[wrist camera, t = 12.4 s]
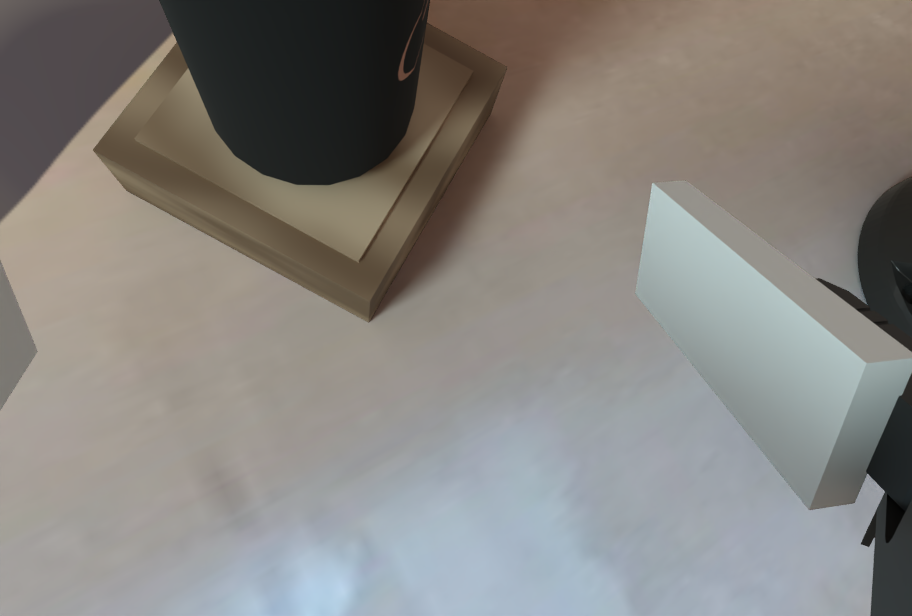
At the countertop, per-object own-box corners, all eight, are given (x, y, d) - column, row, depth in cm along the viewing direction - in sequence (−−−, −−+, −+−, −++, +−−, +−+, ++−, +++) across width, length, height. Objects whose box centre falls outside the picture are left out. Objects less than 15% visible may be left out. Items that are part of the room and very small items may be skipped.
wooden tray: (273, -7, 43) (262, -72, 38) (491, 112, 43) (508, 63, 38) (126, 190, 38) (90, 147, 33) (368, 322, 39) (369, 299, 33)
